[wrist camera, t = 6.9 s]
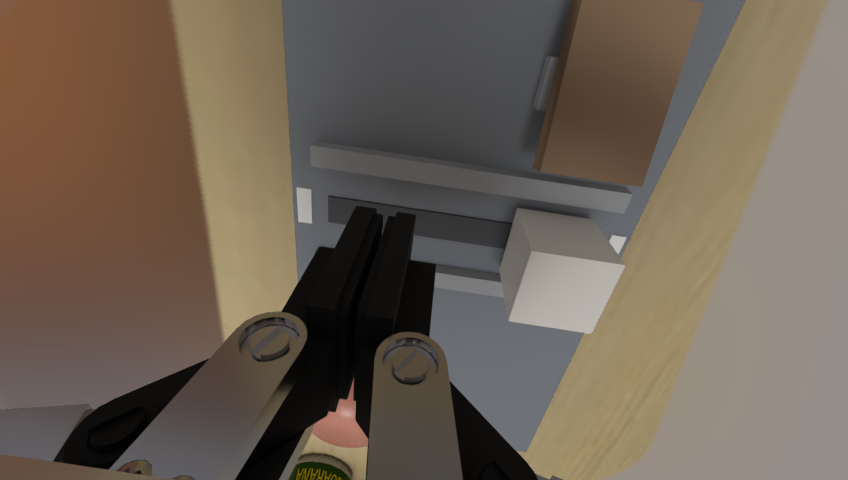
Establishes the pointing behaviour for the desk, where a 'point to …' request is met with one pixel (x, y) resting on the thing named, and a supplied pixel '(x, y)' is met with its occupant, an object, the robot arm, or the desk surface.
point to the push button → (341, 425)
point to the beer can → (319, 469)
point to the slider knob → (557, 271)
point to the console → (458, 162)
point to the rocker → (614, 87)
